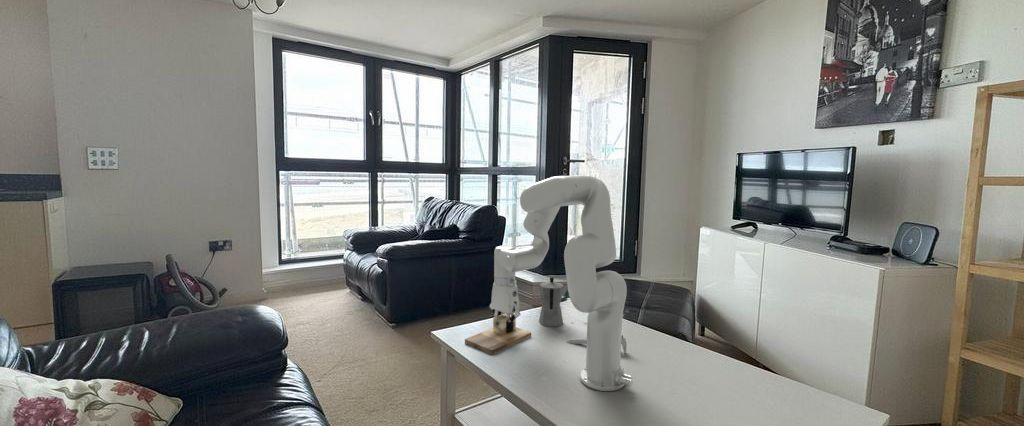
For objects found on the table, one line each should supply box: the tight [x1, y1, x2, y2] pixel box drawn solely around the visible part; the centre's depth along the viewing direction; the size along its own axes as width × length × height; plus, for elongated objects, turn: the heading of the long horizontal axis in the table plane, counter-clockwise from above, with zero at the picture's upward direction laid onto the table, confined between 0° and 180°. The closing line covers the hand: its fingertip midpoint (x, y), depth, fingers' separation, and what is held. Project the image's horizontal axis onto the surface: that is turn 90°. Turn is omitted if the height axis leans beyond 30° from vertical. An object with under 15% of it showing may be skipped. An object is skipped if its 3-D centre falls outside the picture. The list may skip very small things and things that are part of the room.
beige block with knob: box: [492, 313, 517, 335], centre depth 152 cm, size 4×9×5 cm, turn 138°
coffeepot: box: [538, 276, 565, 327], centre depth 162 cm, size 15×9×18 cm, turn 175°
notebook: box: [464, 326, 532, 356], centre depth 147 cm, size 13×20×2 cm, turn 138°
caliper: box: [565, 334, 628, 354], centre depth 141 cm, size 20×1×6 cm, turn 64°
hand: (504, 329), depth 152 cm, fingers closed on beige block with knob, 4 cm apart
